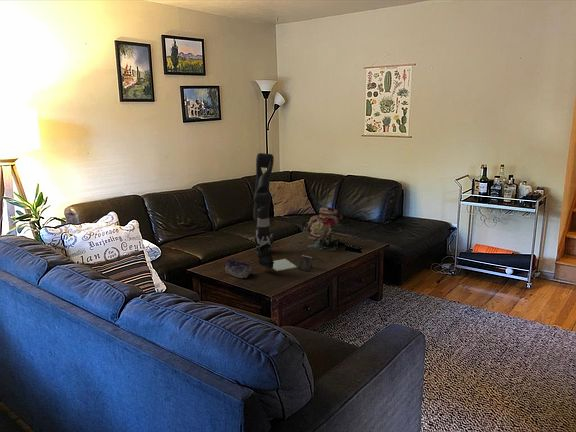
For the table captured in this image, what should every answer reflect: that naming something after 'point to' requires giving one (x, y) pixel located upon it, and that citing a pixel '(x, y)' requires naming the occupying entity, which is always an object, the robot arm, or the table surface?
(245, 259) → the table surface
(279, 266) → the sage mat
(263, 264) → the black red yellow block
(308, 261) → the portable electronic device stand
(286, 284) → the table surface
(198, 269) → the table surface
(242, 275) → the geode
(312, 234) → the rose bouquet
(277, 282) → the table surface
